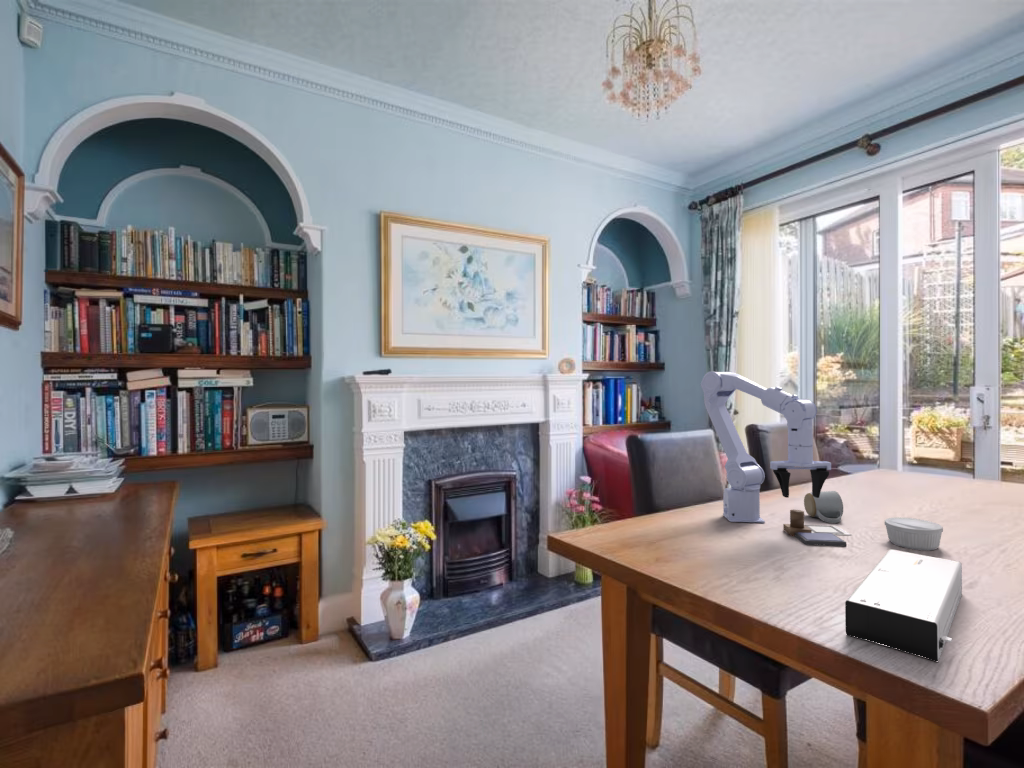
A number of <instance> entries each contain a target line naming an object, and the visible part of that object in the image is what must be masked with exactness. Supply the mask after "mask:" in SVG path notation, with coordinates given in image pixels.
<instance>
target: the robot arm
mask: <svg viewBox="0 0 1024 768" xmlns="http://www.w3.org/2000/svg"><path fill="white" fill-rule="evenodd" d="M700 387H701V390H702V392H703V399H704V401H703V402H704V406H705V409H706V412H707V414H708V416H709V418H710V421H711V423H712V425H713V428H714V431H715V432H716V435H717V436H718V438H719V441H720V443H721V446H722V449H723V450H724V453H725V455H726V458H727V461H725V464H724V468H725V471H726V480H727V482H728V484H729V486H730V487H728V488H727V487H726V488H724V490H723V494H722V495H723V496H722V497H723V499H722V501H723V504H722V505H723V510H722V511H723V513H722V515H723V516H724V518H726V519H727V520H728V521H729V522H730V523H731V522H732V523H733V522H734V523H766V521H765V520H764V519H763V518H762V517H760V516H761V515H760V514H761V511H760V510H761V509H760V508H761V507H760V505H761V504H760V503H761V502H760V501H761V500H760V499H761V498H760V489H761V485H762V484H763V483H764V481H765V479H766V478H765V477H766V476H765V475H766V473H765V471H764V469H763V467H761V466H760V464H758V462H757V460H756V458H754V457H753V456H752V455H751V454H749V453H748V452H747V450H746V449H745V446H744V443H743V442H742V439H741V437H740V435H739V433H738V431H737V428H736V426H735V423H734V421H733V420H732V419H733V418H732V417H731V415H730V413H729V410H728V408H727V406H726V403H727V401H728V400H729V399H730V397H731V396H732V395H733V393H734V392H735V391H736V390H738V391H741V392H743V393H745V394H748V395H749V396H750V395H751V396H752V397H755V398H757V399H760V402H761V404H762V406H765V407H766V408H768V409H771V410H773V411H775V412H777V413H779V414H780V415H783V417H784V418H785V420H786V425H787V460H775V461H773V460H772V461H770V462H769V464H770V465H769V466H770V467H769V469H771V470H772V471H773V474H774V475H775V478H776V480H777V482H778V483H779V487H780V490H781V496H782V497H784V498H787V499H788V498H789V497H790V478H791V472H789V471H788V470H809V472H810V477H811V486H812V487H811V492H812V495H813V496H814V497H816V498H819V496H820V492H822V488H823V487H824V484H825V483H826V480H827V479H828V477H829V475H830V471H831V470H832V462H830V461H824V460H822V461H821V460H819V461H818V460H814V447H813V446H814V438H813V437H814V431H813V430H814V429H813V427H814V426H813V422H814V419H815V417H816V416H817V414H818V408H817V405H816V404H815V402H813V401H812V400H810V399H809V398H801V399H800V398H799V395H797V394H791V393H788V392H786V391H784V390H783V388H782V387H780V386H771V387H769V388H768V387H767V388H766V387H765V386H762V385H760V384H758V383H757V382H756V381H752V380H750V379H749V378H747V377H745V376H743V375H742V374H739V373H735V372H733V371H714V370H713V371H712V370H710V371H707V372H706V373H705V374H704V375H703V377H702V380H701V382H700Z"/></svg>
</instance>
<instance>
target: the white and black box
mask: <svg viewBox="0 0 1024 768" xmlns="http://www.w3.org/2000/svg"><path fill="white" fill-rule="evenodd" d="M962 595H963V563H962V562H960V561H957V560H952V559H947V558H940V557H934V556H930V555H925V554H920V553H913V552H908V551H904V550H903V551H902V550H897V549H892V548H890V549H888V551H887V552H886V553H885V554H884V555H883V556H882V558H881V559H880V560H879V561H878V563H876V565H875V566H874V567H873V568H872V570H871V571H870V572H869V573H868V575H866V577H864V578H863V580H862V581H861V583H860V584H859V585H858V586H857V588H856V589H855V590H854V591H853V592H852V593H851V595H849V596H848V598H847V599H846V601H845V602H844V604H845V607H844V608H845V609H844V610H845V615H844V616H845V623H844V624H845V635H846V634H847V635H851V636H850V637H852V636H855V637H858V638H862V639H867V640H870V641H874V642H877V643H880V644H884V645H887V646H890V647H893V648H897V649H900V650H902V651H906V652H909V653H913V654H916V655H920V656H923V657H926V658H929V659H932V660H935V661H938V660H939V661H940V659H941V656H942V653H943V651H944V647H945V644H946V642H947V643H952V641H953V638H952V637H949V632H950V629H951V627H950V626H952V624H953V621H954V619H955V615H956V612H957V609H958V607H959V604H960V600H961V597H962ZM957 606H958V607H957ZM951 623H952V624H951ZM847 635H846V636H847ZM855 637H854V638H855ZM858 638H857V639H858ZM862 639H861V640H862ZM902 651H901V652H902ZM906 652H905V653H906ZM941 652H942V653H941ZM909 653H908V654H909ZM916 655H915V656H916ZM940 655H941V656H940ZM923 657H922V658H923ZM926 658H925V659H926ZM939 658H940V659H939ZM929 659H928V660H929ZM932 660H931V661H932ZM935 661H934V662H935Z"/></svg>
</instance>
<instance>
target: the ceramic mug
mask: <svg viewBox="0 0 1024 768" xmlns="http://www.w3.org/2000/svg"><path fill="white" fill-rule="evenodd" d="M803 504H804V505H803V506H804V509H805V512H806V514H807V515H808V516H809V517H811V518H817V519H820V520H821V521H823V522H826V523H829V524H837V523H840V522H841V521H842V517H843V514H844V503H843V500H842V497H841V495H840V494H839V492H837V491H836V490H829V491H828V490H826V491H821V492H820V496H819V498H816V497H814V496H813V495H812V491H811V492H807V493H806V494H805V495H804V497H803Z"/></svg>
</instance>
